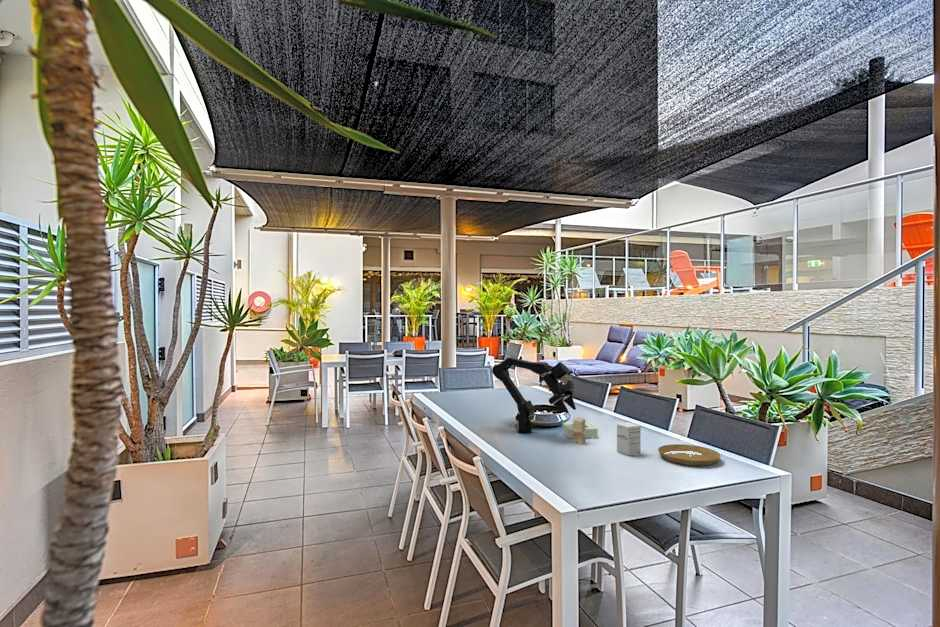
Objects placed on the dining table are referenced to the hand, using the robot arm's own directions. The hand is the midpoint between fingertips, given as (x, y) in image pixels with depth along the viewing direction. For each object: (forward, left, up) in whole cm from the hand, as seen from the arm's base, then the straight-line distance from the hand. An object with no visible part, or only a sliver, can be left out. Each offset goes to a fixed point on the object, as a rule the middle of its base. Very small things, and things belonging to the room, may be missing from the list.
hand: (571, 411), depth 238 cm
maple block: (+2, -6, -14) cm, 15 cm away
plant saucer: (+41, -34, -14) cm, 55 cm away
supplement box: (+19, -24, -14) cm, 34 cm away
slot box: (+6, +8, -14) cm, 17 cm away
